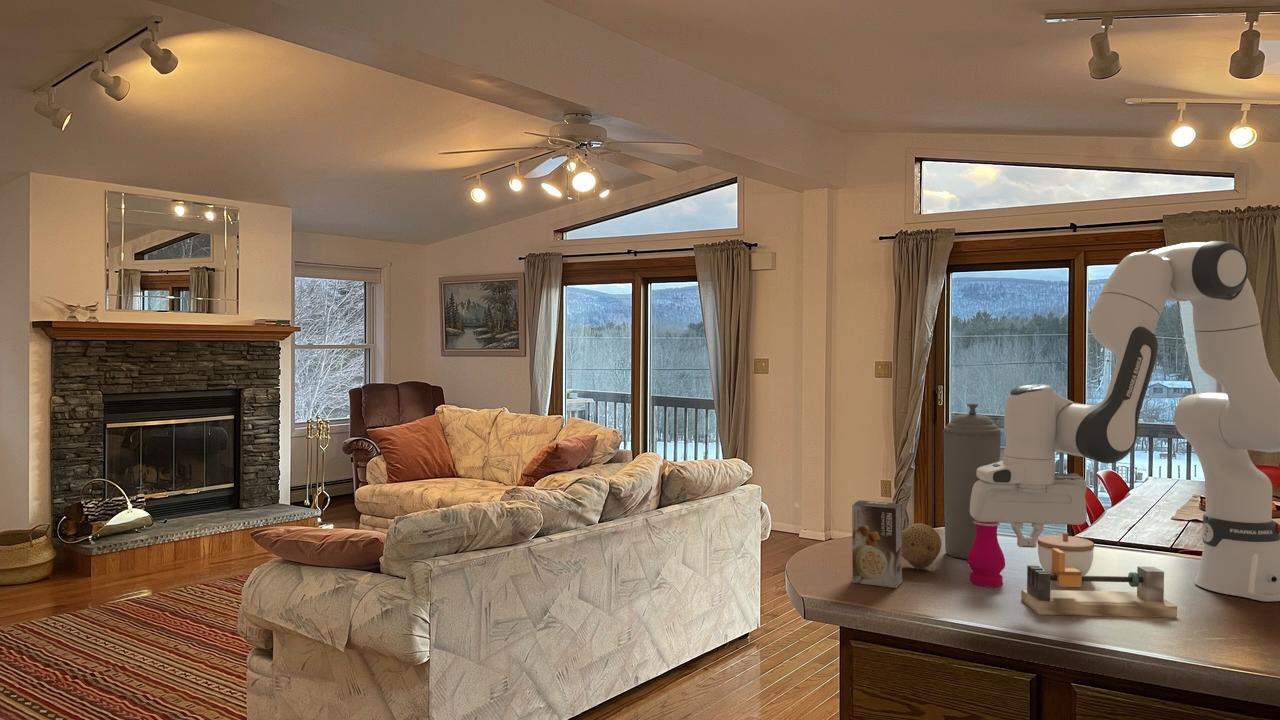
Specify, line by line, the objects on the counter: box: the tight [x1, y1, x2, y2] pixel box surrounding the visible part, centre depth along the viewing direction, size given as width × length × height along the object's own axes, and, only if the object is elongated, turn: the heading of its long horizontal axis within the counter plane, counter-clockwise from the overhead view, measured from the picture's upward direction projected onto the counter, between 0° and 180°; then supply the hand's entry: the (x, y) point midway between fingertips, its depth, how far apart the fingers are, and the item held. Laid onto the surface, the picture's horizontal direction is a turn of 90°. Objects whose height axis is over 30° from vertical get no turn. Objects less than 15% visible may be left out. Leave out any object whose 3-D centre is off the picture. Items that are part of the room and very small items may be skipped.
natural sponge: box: [902, 522, 942, 570], centre depth 193 cm, size 9×9×10 cm
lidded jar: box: [1037, 531, 1095, 576], centre depth 187 cm, size 11×11×9 cm
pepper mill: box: [966, 519, 1006, 588], centre depth 182 cm, size 7×7×20 cm
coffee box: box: [851, 499, 903, 589], centre depth 183 cm, size 9×6×16 cm
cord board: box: [1020, 564, 1178, 618], centre depth 166 cm, size 24×9×8 cm, turn 86°
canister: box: [942, 402, 1003, 560], centre depth 206 cm, size 13×13×35 cm
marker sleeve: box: [1051, 548, 1083, 588], centre depth 166 cm, size 4×3×6 cm
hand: (1026, 546), depth 166 cm, fingers closed
